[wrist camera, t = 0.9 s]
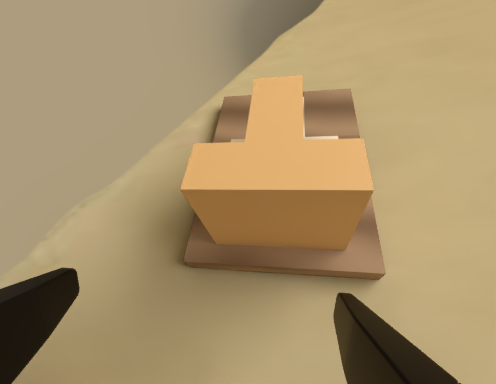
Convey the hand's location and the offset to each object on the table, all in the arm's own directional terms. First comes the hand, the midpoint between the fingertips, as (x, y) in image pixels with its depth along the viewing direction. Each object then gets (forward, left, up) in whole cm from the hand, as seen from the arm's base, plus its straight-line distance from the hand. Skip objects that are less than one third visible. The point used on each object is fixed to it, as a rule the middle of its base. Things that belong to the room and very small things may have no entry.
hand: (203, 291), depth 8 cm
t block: (+10, -4, -10) cm, 15 cm away
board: (+14, -5, -12) cm, 19 cm away
